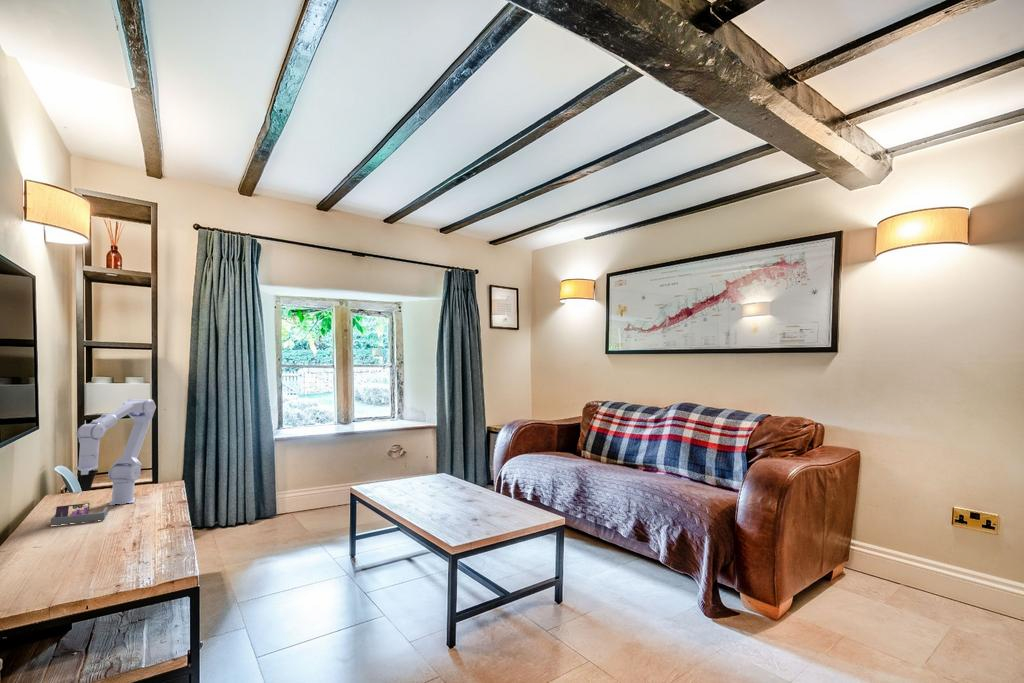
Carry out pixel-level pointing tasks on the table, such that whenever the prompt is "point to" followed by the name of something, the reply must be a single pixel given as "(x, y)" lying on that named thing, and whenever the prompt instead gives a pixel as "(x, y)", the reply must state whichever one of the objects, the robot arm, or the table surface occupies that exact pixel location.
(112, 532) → the table surface
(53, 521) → the holder
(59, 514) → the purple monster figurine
